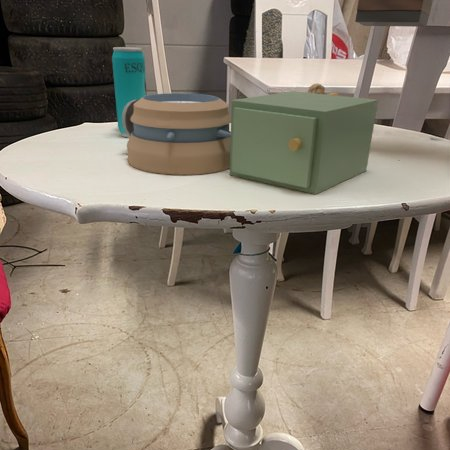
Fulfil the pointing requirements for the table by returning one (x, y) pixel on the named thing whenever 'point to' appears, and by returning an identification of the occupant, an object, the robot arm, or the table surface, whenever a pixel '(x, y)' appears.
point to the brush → (393, 12)
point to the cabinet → (301, 139)
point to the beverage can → (128, 79)
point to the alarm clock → (178, 133)
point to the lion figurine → (319, 90)
